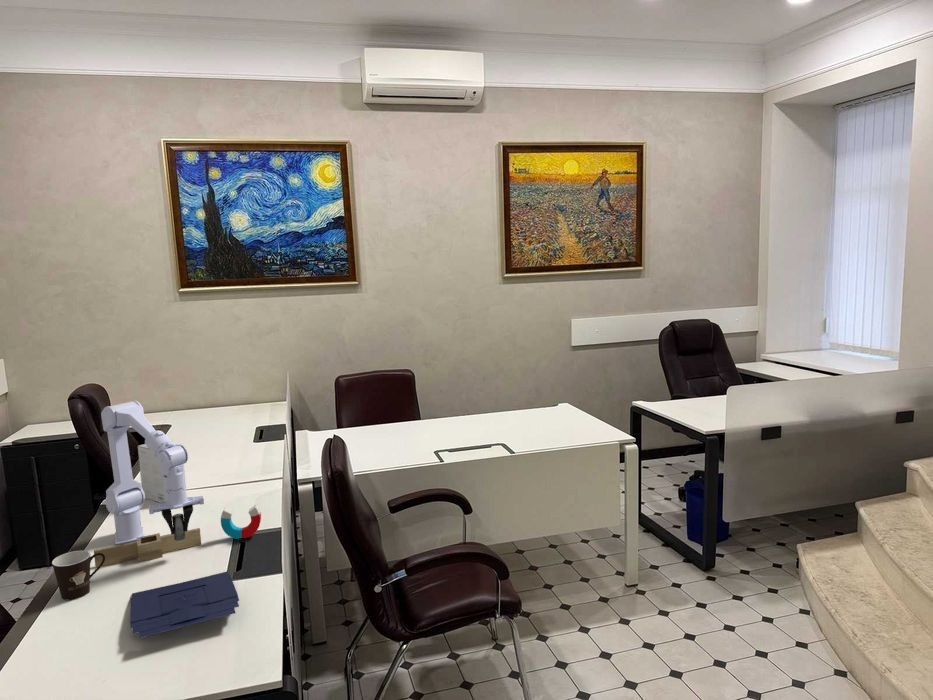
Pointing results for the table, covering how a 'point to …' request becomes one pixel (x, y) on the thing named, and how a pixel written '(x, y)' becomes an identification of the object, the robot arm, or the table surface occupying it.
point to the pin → (178, 527)
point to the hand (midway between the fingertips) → (179, 531)
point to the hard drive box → (151, 475)
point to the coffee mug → (74, 573)
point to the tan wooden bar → (146, 548)
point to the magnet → (236, 531)
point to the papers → (182, 604)
